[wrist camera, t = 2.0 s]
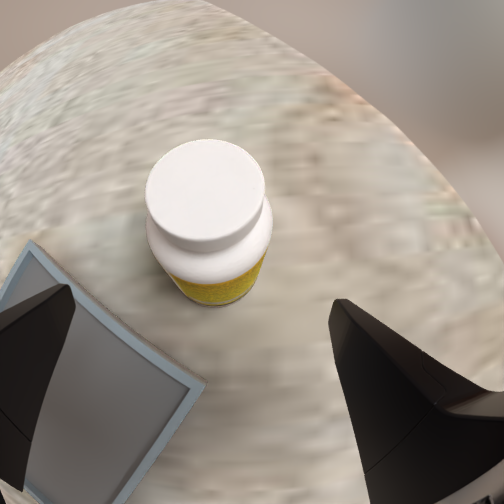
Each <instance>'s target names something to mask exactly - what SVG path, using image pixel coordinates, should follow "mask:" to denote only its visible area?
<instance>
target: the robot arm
mask: <svg viewBox="0 0 504 504" xmlns="http://www.w3.org/2000/svg"><path fill="white" fill-rule="evenodd" d="M75 309H76V304H75V300H74V297H73V293H72V290H71V287H70V286H69V285H68V284H63V283H59V284H57V285H54V286H52V287H50V288H48V289H46V290H44V291H42V292H40V293H38V294H36V295H34V296H32V297H30V298H28V299H26V300H24V301H22V302H20V303H18V304H16V305H14V306H12V307H10V308H8V309H6V310H4V311H2V312H0V479H2V480H3V481H5V482H6V483H8V484H9V485H11V486H12V487H14V488H16V489H17V490H19V491H21V492H23V488H24V481H25V475H26V469H27V464H28V459H29V454H30V449H31V445H32V443H31V442H32V440H33V436H34V432H35V428H36V425H37V421H38V417H39V414H40V411H41V407H42V404H43V401H44V398H45V395H46V392H47V389H48V386H49V383H50V380H51V377H52V375H53V372H54V369H55V367H56V364H57V361H58V359H59V356H60V354H61V351H62V349H63V346H64V343H65V340H66V337H67V334H68V331H69V328H70V325H71V322H72V319H73V316H74V313H75ZM328 325H329V331H330V336H331V342H332V348H333V354H334V360H335V364H336V368H337V372H338V375H339V379H340V382H341V386H342V389H343V393H344V396H345V400H346V404H347V407H348V411H349V415H350V419H351V422H352V426H353V430H354V434H355V438H356V442H357V446H358V450H359V454H360V458H361V463H362V467H363V471H364V474H365V475H364V476H365V481H366V485H367V490H368V495H369V499H370V504H504V391H503V392H494V391H489V390H486V389H484V388H482V387H480V386H478V385H476V384H475V383H473V382H471V381H470V380H468V379H466V378H465V377H463V376H461V375H459V374H458V373H456V372H454V371H453V370H451V369H449V368H448V367H446V366H444V365H443V364H441V363H440V362H438V361H437V360H435V359H434V358H432V357H431V356H429V355H428V354H427V353H425V352H424V351H422V350H421V349H419V348H418V347H417V346H415V345H414V344H412V343H411V342H409V341H408V340H406V339H405V338H404V337H402V336H401V335H399V334H398V333H396V332H395V331H393V330H392V329H390V328H389V327H388V326H386V325H385V324H383V323H382V322H380V321H379V320H377V319H376V318H374V317H373V316H371V315H370V314H369V313H367V312H366V311H364V310H363V309H361V308H360V307H358V306H357V305H355V304H354V303H352V302H351V301H349V300H348V299H336V300H334V302H333V305H332V309H331V313H330V316H329V321H328ZM0 504H6V503H5V500H4V498H3V495H2V493H1V490H0Z"/></svg>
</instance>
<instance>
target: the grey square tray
mask: <svg viewBox="0 0 504 504" xmlns="http://www.w3.org/2000/svg"><path fill="white" fill-rule="evenodd" d="M59 283H63V284H68V285H69V286H70V287H71V290H72V293H73V297H74V300H75V304H76V309H75V313H74V316H73V319H72V322H71V325H70V328H69V331H68V334H67V337H66V340H65V343H64V346H63V349H62V351H61V354H60V356H59V359H58V361H57V364H56V367H55V369H54V372H53V375H52V377H51V380H50V383H49V386H48V389H47V392H46V395H45V398H44V401H43V404H42V407H41V411H40V414H39V417H38V421H37V425H36V428H35V432H34V436H33V440H32V442H31V443H32V445H31V449H30V454H29V459H28V464H27V469H26V475H25V481H24V489H25V490H26V491H27V492H28V493H29V494H30V495H31V496H32V497H33V498H34V499H35V500H36V501H37V502H38V503H40V504H124V503H125V501H126V500H127V499H128V497H129V496H130V495H131V493H132V492H133V491H134V489H135V488H136V487H137V485H138V484H139V482H140V481H141V480H142V478H143V477H144V476H145V474H146V473H147V471H148V470H149V469H150V467H151V466H152V464H153V463H154V462H155V460H156V459H157V457H158V456H159V454H160V453H161V452H162V450H163V449H164V447H165V446H166V444H167V443H168V442H169V440H170V439H171V437H172V436H173V434H174V433H175V431H176V430H177V428H178V427H179V425H180V424H181V423H182V421H183V420H184V418H185V417H186V415H187V414H188V412H189V411H190V409H191V408H192V406H193V405H194V403H195V402H196V400H197V399H198V397H199V396H200V394H201V393H202V391H203V390H204V388H205V386H206V385H207V383H208V381H206V380H205V379H203V378H201V377H200V376H198V375H197V374H195V373H194V372H192V371H190V370H189V369H187V368H186V367H184V366H183V365H181V364H180V363H178V362H177V361H175V360H174V359H172V358H171V357H169V356H168V355H167V354H165V353H164V352H162V351H161V350H160V349H158V348H157V347H155V346H154V345H153V344H151V343H150V342H149V341H147V340H146V339H144V338H143V337H142V336H140V335H139V334H138V333H137V332H135V331H134V330H133V329H131V328H130V327H129V326H128V325H126V324H125V323H124V322H123V321H121V320H120V319H119V318H118V317H116V316H115V315H114V314H113V313H112V312H110V311H109V310H108V309H107V308H106V307H104V306H103V305H102V304H101V303H100V302H99V301H97V300H96V299H95V298H94V297H93V296H92V295H91V294H90V293H88V292H87V291H86V290H85V289H84V288H83V287H82V286H81V285H80V284H79V283H77V282H76V281H75V280H74V279H73V278H72V277H71V276H70V275H69V274H68V273H67V272H66V271H65V270H64V269H63V268H62V267H61V266H60V265H59V264H58V263H57V262H56V261H55V260H54V259H53V258H52V257H51V256H50V255H49V254H48V253H47V252H46V251H45V250H44V249H43V248H42V247H41V246H39V245H38V244H36V243H35V242H33V241H32V240H29V241H28V243H27V244H26V246H25V247H24V249H23V251H22V252H21V254H20V255H19V257H18V259H17V261H16V262H15V264H14V266H13V267H12V269H11V271H10V273H9V275H8V276H7V278H6V280H5V282H4V284H3V286H2V288H1V290H0V312H2V311H4V310H6V309H8V308H10V307H12V306H14V305H16V304H18V303H20V302H22V301H24V300H26V299H28V298H30V297H32V296H34V295H36V294H38V293H40V292H42V291H44V290H46V289H48V288H50V287H52V286H54V285H57V284H59Z"/></svg>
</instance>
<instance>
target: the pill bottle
mask: <svg viewBox="0 0 504 504" xmlns="http://www.w3.org/2000/svg"><path fill="white" fill-rule="evenodd" d="M145 202H146V206H147V209H148V212H147V217H146V235H147V239H148V243H149V246H150V248H151V250H152V252H153V254H154V256H155V258H156V259H157V261H158V262H159V264H160V265H161V266H162V267H163V269H164V270H165V271H166V273H167V274H168V275H169V276H170V278H171V279H172V280H173V281H174V283H175V284H176V285H177V286H178V288H179V289H180V290H181V291H182V292H183V293H184V294H185V295H186V296H187V297H188V298H189V299H191V300H192V301H194V302H195V303H197V304H200V305H203V306H207V307H223V306H228V305H231V304H233V303H235V302H237V301H239V300H240V299H242V298H243V297H244V296H245V295H246V294H247V293H248V292H249V291H250V290H251V288H252V287H253V285H254V283H255V281H256V279H257V276H258V274H259V271H260V268H261V265H262V262H263V259H264V257H265V254H266V251H267V248H268V245H269V242H270V239H271V235H272V228H273V217H272V210H271V206H270V203H269V201H268V198H267V196H266V195H265V181H264V176H263V174H262V171H261V169H260V167H259V165H258V163H257V162H256V161H255V159H254V158H253V157H252V156H251V155H250V154H249V153H247V152H246V151H245V150H243V149H242V148H240V147H238V146H236V145H234V144H232V143H229V142H225V141H221V140H215V139H201V140H195V141H191V142H187V143H184V144H182V145H179V146H177V147H175V148H173V149H172V150H170V151H169V152H167V153H166V154H165V155H163V156H162V157H161V158H160V159H159V160H158V162H157V163H156V164H155V165H154V167H153V168H152V170H151V172H150V174H149V176H148V179H147V182H146V186H145Z"/></svg>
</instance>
